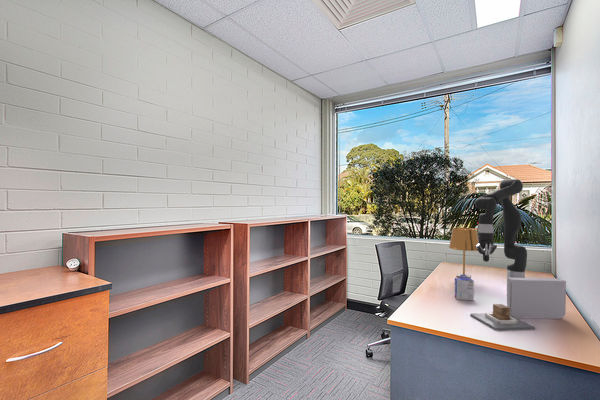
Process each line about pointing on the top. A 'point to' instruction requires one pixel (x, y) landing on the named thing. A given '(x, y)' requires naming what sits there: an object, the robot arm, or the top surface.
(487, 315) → the baseplate
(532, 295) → the game console
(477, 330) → the top surface
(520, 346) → the top surface
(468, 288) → the ink cartridge box
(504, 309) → the walnut block
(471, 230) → the lamp
